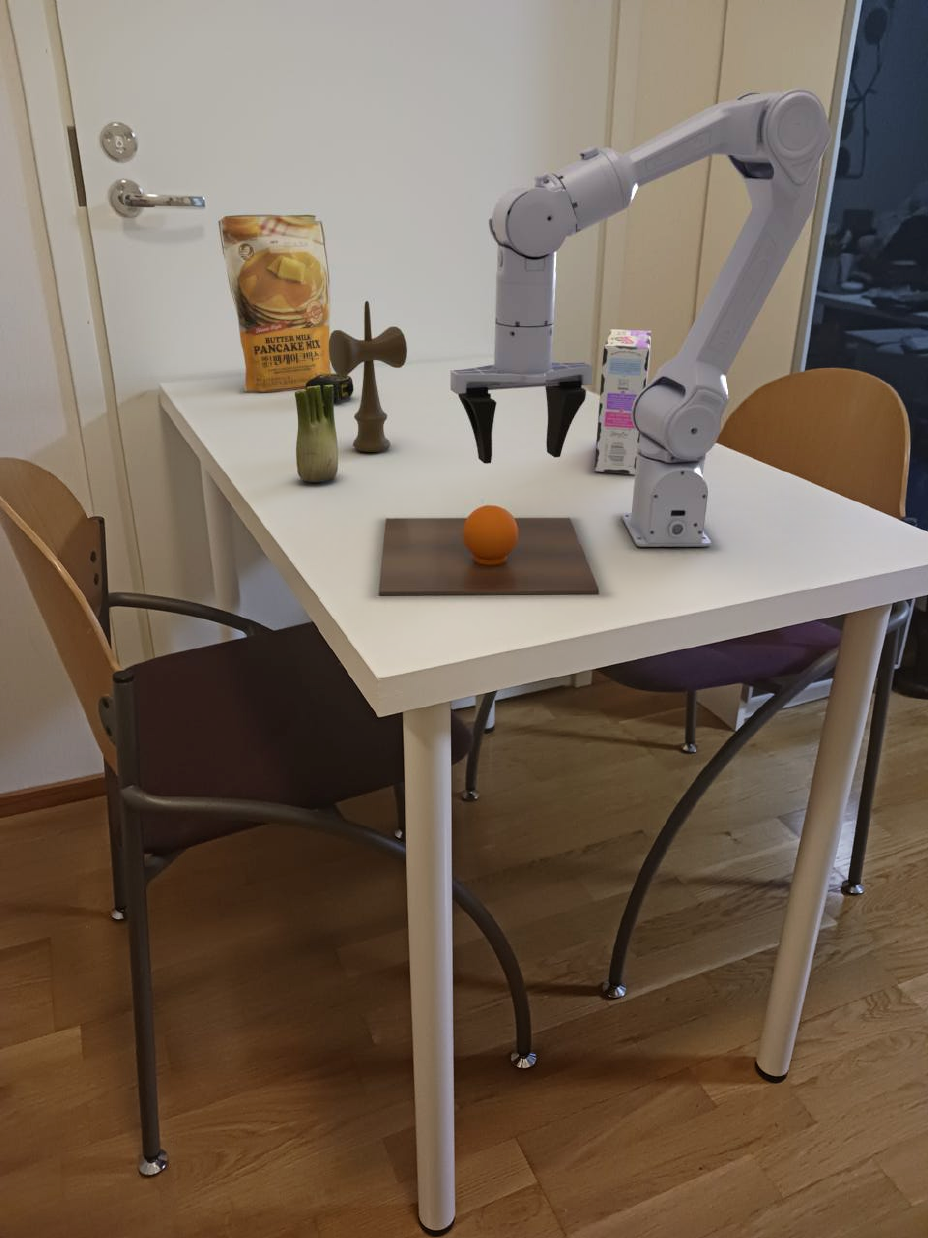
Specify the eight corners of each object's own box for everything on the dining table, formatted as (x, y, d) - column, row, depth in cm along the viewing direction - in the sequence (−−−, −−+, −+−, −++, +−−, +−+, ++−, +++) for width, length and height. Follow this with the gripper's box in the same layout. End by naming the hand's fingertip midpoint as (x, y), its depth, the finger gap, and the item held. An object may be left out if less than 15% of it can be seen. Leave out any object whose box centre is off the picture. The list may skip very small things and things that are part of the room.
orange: (519, 569, 97) (521, 516, 94) (463, 569, 96) (464, 516, 94) (514, 548, 102) (516, 497, 99) (461, 548, 101) (462, 497, 99)
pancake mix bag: (228, 388, 168) (211, 214, 156) (329, 377, 177) (321, 211, 165) (240, 396, 163) (224, 216, 151) (344, 384, 172) (337, 214, 159)
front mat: (598, 593, 92) (599, 590, 92) (379, 595, 91) (378, 591, 91) (570, 521, 110) (570, 517, 110) (386, 521, 109) (386, 518, 109)
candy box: (638, 476, 126) (650, 346, 118) (593, 473, 127) (602, 344, 119) (642, 447, 138) (653, 328, 130) (600, 444, 139) (609, 326, 132)
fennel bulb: (336, 472, 126) (331, 379, 120) (346, 483, 121) (342, 388, 116) (292, 477, 124) (285, 383, 118) (300, 488, 120) (294, 391, 114)
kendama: (331, 449, 135) (323, 300, 126) (391, 439, 140) (387, 295, 131) (350, 459, 131) (344, 306, 122) (412, 449, 135) (410, 300, 127)
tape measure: (304, 400, 161) (302, 377, 159) (332, 392, 166) (331, 370, 164) (334, 406, 157) (333, 383, 156) (362, 398, 162) (361, 376, 161)
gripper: (466, 332, 89) (465, 475, 95) (609, 325, 93) (599, 462, 99) (444, 320, 95) (444, 455, 101) (579, 314, 99) (571, 444, 105)
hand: (519, 457), depth 100 cm, fingers open, 7 cm apart
